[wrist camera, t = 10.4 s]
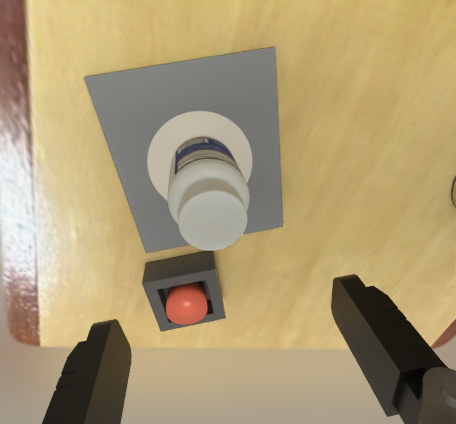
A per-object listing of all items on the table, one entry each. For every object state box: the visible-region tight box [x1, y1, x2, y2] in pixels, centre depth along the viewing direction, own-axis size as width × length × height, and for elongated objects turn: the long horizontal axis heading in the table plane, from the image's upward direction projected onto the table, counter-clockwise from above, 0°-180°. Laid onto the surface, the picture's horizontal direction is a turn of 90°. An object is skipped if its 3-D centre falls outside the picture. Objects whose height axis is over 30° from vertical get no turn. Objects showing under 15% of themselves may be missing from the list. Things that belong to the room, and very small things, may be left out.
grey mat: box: [84, 47, 283, 253], centre depth 25 cm, size 14×16×1 cm
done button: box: [166, 282, 207, 325], centre depth 29 cm, size 4×4×2 cm
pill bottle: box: [168, 136, 250, 251], centre depth 20 cm, size 5×5×10 cm
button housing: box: [142, 251, 226, 332], centre depth 30 cm, size 7×7×3 cm
